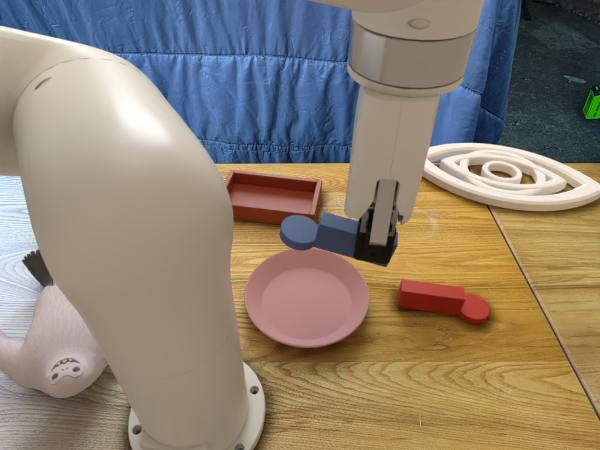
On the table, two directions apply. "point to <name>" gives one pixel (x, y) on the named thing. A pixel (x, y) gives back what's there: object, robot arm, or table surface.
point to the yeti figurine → (52, 343)
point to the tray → (272, 196)
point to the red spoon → (442, 300)
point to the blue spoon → (323, 234)
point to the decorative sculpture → (508, 190)
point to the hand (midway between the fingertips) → (372, 249)
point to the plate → (306, 297)
